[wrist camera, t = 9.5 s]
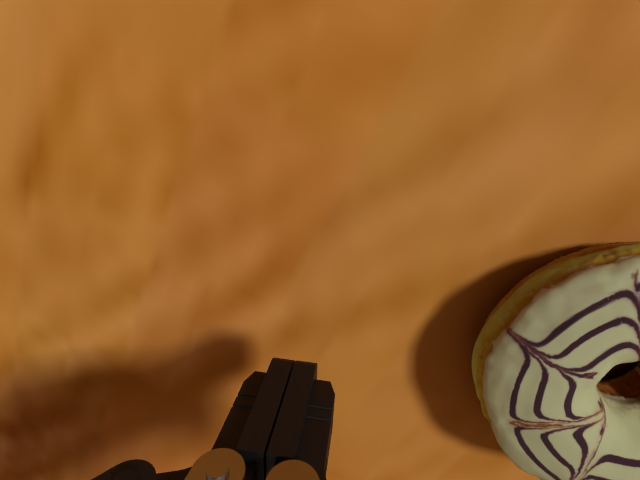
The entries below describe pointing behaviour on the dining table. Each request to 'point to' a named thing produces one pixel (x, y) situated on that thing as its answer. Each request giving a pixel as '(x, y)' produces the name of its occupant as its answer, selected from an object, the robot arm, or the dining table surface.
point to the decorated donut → (566, 367)
